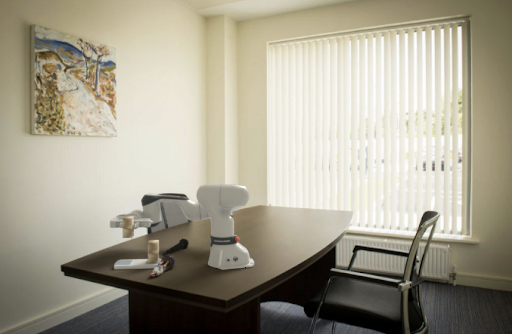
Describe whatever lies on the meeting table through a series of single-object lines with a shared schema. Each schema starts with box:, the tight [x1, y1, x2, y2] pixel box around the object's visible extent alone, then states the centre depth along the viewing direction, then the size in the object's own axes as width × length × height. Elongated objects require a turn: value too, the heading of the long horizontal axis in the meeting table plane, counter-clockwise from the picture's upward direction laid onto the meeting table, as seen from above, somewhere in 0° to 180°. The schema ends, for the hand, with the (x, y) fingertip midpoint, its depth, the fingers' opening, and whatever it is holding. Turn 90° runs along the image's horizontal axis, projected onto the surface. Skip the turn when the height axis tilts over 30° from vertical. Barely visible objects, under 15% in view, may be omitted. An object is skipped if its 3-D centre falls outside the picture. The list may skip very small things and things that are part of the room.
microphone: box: [161, 238, 190, 256], centre depth 204 cm, size 6×6×20 cm
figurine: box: [148, 254, 176, 279], centre depth 169 cm, size 8×7×18 cm
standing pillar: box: [147, 239, 160, 263], centre depth 179 cm, size 4×4×10 cm
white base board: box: [113, 258, 162, 270], centre depth 178 cm, size 21×10×2 cm, turn 97°
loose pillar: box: [122, 216, 135, 239], centre depth 188 cm, size 4×4×10 cm
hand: (127, 226), depth 187 cm, fingers closed on loose pillar, 4 cm apart
